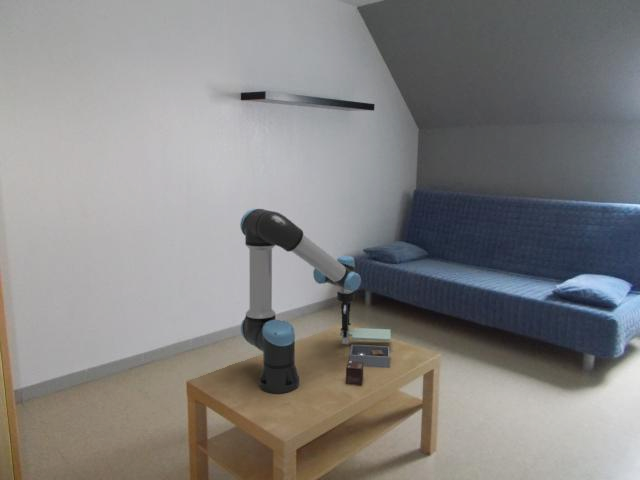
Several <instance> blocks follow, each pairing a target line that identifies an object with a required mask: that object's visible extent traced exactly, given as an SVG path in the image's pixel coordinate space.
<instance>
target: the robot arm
mask: <svg viewBox="0 0 640 480" xmlns="http://www.w3.org/2000/svg"><path fill="white" fill-rule="evenodd" d="M239 225H240V230H241V232H242V234H243V235H244V237H245V239H244V240H245V241H244V242H245V244H244V245H245V246H246V247H247V248H248V249H249V309H248V310H247V311H246V312H245V317H244V319H243V320H242V322H241V324H240V332H241V336H242V337H243V339H244V340H245V341H247V343H249V345H251V346H254V347H255V348H257V350H258V349H259V350H260V352H261V351H262V354H263V357H262V359H263V366H262V369H261V371H260V375H259V379H258V382H259V383H258V384H259V385H258V386H259V388H260V389H261V390H263V391H264V392H267V393H271V394H285V393H289V392H293V391H294V390H296V389H297V388H299V386H300V384H301V383H300V375H299V371H298V370H297V366H296V364H295V363H296V361H295V359H296V358H295V357H296V355H295V351H296V350H295V349H296V347H295V346H296V345H295V339H296V334H295V328H294V326H293V325H292V324H291V323H290V322H288V321H287V320H286V321H285V320H281V319H276V311H274V310H273V308H272V305H273V304H272V303H273V302H272V297H273V296H272V295H273V293H272V292H273V289H272V288H273V287H272V286H273V285H272V284H273V248H275V247H276V246H277V247H279V248H282V249H283V250H284V251H286V252H292V253H293V254H295V255H296V256H297V257H299V258H300V259H301V260H303V261H305V262H306V264H307V263H308V264H309V265H310V266H311V267H312V268H314V269H313V272H312V273H313V274H312V275H313V280H314V281H315V283H317V284H319V285H320V284H321V285H323V284H327V283H328V284H329V285H333V286H336V288H337V289H336V290H337V292H336V293H337V298H336V299H337V301H339V302H341V304H340V309H341V328H340V331H341V330H342V336H341V344H342V345H349V341H350V336H348V325H350V326H351V325H352V323H350V312H351V306H352V305H351V302H354V301H355V291H356V290H358V289H359V288H360V286H361V284H362V278H361V276H360V274H359V273H357V272H355V271H356V266H355V265H356V264H355V263H356V262H355V261H356V260H355V258H354V257H353V256H350V255H340V256H338V257H337V260H336V259H335V258H334V257H333V256H332V255H330V254H329V253H327V252H326V251H325V250H324V249H323V248H321V247H320V246H318V244H316V243H315V242H314V241H313V240H311V239H310V238H308V237H307V236H306V235H304V234H305V233H304V231H303V229H301V228H300V227H299V226H297V225H296V224H295V223H294V222H293V221H292V220H290V219H289V218H287V216H285V215H283V214H282V213H280V212H276V211H272V210H267V209H264V208H252V209H250V210H247V211H246V212H245V213H244V215H242V217H241V220H240V223H239Z"/></svg>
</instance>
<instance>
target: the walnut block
mask: <svg viewBox="0 0 640 480" xmlns="http://www.w3.org/2000/svg"><path fill="white" fill-rule="evenodd" d="M371 356H383V353H382V351H381V350H371Z"/></svg>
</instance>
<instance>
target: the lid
mask: <svg viewBox="0 0 640 480" xmlns="http://www.w3.org/2000/svg"><path fill="white" fill-rule="evenodd" d="M350 327H351V325H348V336H349V337H351V340H353V341H354V340H355V341H373V342H376V341H377V342H378V341H379V342H391V340H392V339H391V335H392V334H391V333H392V332H391V329H388V328H386V329H384V328H365V327H364V328H362V327H353V329H352V330H351V328H350ZM339 336H340V337H342V330H341V329H340V333H339Z"/></svg>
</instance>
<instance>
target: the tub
mask: <svg viewBox="0 0 640 480" xmlns="http://www.w3.org/2000/svg"><path fill="white" fill-rule="evenodd" d="M371 350H381V351H382V353H383V356H371ZM358 352H365V355H358ZM349 361H355V362H363V367H368V368H370V367H371V368H372V367H373V368H388V369H389V368H390V346H388V345H387V346H385V345H368V344H367V345H365V344H351V345H350V351H349Z"/></svg>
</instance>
